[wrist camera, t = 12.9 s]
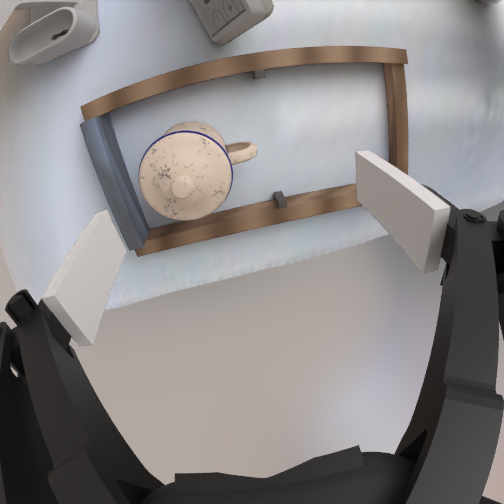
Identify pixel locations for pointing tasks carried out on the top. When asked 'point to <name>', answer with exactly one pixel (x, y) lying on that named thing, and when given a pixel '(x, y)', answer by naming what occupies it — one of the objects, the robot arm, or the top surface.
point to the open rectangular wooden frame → (250, 216)
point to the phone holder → (51, 28)
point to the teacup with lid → (190, 170)
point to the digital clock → (231, 16)
